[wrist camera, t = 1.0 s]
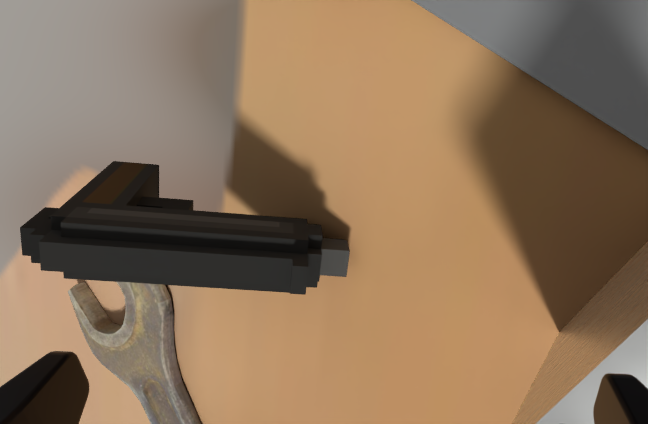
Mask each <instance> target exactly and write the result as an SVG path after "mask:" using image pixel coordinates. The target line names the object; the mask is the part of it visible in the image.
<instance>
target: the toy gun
mask: <svg viewBox="0 0 648 424" xmlns="http://www.w3.org/2000/svg"><path fill="white" fill-rule="evenodd" d="M20 232H21V243H22V255H27V256H31V262H32V263H41V270H44V271H60V272H64V278H68V279H84V280H100V281H115V282H131V283H147V284H163V285H178V286H194V287H210V288H226V289H242V290H257V291H273V292H289V293H290V294H305V293H306V287H316V288H317V282H318V281H319V277H320V275H327V276H342V277H346V275H347V268H348V260H349V252H350V250H349V246H348V243H347V241H346V240H342V239H328V238H322V237H323V235H322V228H321V225H313V224H307V219H299V218H285V217H272V216H259V215H246V214H232V213H219V212H206V211H193V200H181V199H168V198H159V165H153V164H141V163H128V162H116V161H114V162H112V163H111V164H110V165H109V166H108V167H106V169H104V170H103V171H102V172H101V173H99V174H98V175H97V176H96V177H95V178H94V179H92V180H91V181H90V182H89V183H88V184H87V185H86V186H84V187H83V188H82V189H81V190H80V191H79V192H77V193H76V194H75V195H74V196H73V197H72V198H71V199H69V200H68V201H67V202H66V203H65V204H64V205H62V206H61V207H60V208H46V207H45V208H44V209H42V210H41V211H40V212H39V213H38V214H36V215H35V216H34V217H33V218H31V219H30V220H29V221H28V222H27V223H25V224H24V225H23V226H22V227H20Z"/></svg>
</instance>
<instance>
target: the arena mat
mask: <svg viewBox="0 0 648 424" xmlns="http://www.w3.org/2000/svg"><path fill="white" fill-rule="evenodd" d="M412 1H414V2H415V3H417V4H418V5H420V6H422V7H423V8H425V9H426V10H428V11H429V12H431V13H433V14H434V15H436V16H437V17H439V18H440V19H442V20H444V21H445V22H447V23H448V24H450V25H451V26H453V27H455V28H456V29H458V30H459V31H461V32H463V33H464V34H466V35H467V36H469V37H470V38H472V39H474V40H475V41H477V42H478V43H480V44H481V45H483V46H485V47H486V48H488V49H489V50H491V51H492V52H494V53H496V54H497V55H499V56H500V57H502V58H504V59H505V60H507V61H508V62H510V63H511V64H513V65H515V66H516V67H518V68H519V69H521V70H522V71H524V72H526V73H527V74H529V75H530V76H532V77H533V78H535V79H537V80H538V81H540V82H541V83H543V84H545V85H546V86H548V87H549V88H551V89H552V90H554V91H556V92H557V93H559V94H560V95H562V96H563V97H565V98H567V99H568V100H570V101H571V102H573V103H574V104H576V105H578V106H579V107H581V108H582V109H584V110H586V111H587V112H589V113H590V114H592V115H593V116H595V117H597V118H598V119H600V120H601V121H603V122H604V123H606V124H608V125H609V126H611V127H612V128H614V129H615V130H617V131H619V132H620V133H622V134H623V135H625V136H627V137H628V138H630V139H631V140H633V141H634V142H636V143H638V144H639V145H641V146H642V147H644V148H645V149H647V150H648V0H412Z"/></svg>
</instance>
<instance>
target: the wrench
mask: <svg viewBox="0 0 648 424" xmlns="http://www.w3.org/2000/svg"><path fill="white" fill-rule="evenodd" d="M117 283H118V285H119V286H120V288H121V290H122V292H123V294H124V296H125V304H126V309H125V317H124V322H123V325H118V324H115V323H113V322H112V321H111V320H110V319H109V318H108V316H107V315H106V313H105V311H104V310H103V308H102V307H101V305H100V304H99V302H98V301H97V299H96V298H95V296H94V294H93V293H92V291H91V290H90V289H89V287H88V286H87V284H86V283H85V282H82V283H79V284H77V285H75V286H73V287H72V288H71V289H70V290H69V291H68V293H69V296H70V299H71V302H72V305H73V307H74V310H75V313H76V316H77V319H78V321H79V324H80V327H81V330H82V332H83V334H84V336H85V339H86V341H87V343H88V345H89V347H90V349H91V351H92V352H93V354H94V355H95V356H96V358H97V359H98V360H99V361H100V362H101V363H102V364H103V365H104V366H105V367H106V368H107V369H108V370H110V371H111V372H112V373H113V374H114V375H116V376H117V377H118V378H119V379H120V380H122V381H123V382H124V383H125V384H126V385H127V386H129V387H130V389H131V390H132V391H133V393H134V394H135V395H136V397H137V398H138V399H139V400H140V402H141V404H142V406H143V408H144V410H145V412H146V414H147V416H148V419H149V421H150V423H151V424H201V422H200V420H199V418H198V415H197V413H196V410H195V408H194V406H193V404H192V401H191V399H190V397H189V395H188V392H187V390H186V388H185V386H184V383H183V381H182V378H181V374H180V370H179V367H178V363H177V358H176V353H175V347H174V312H173V307H172V302H171V297H170V295H169V293H168V290H167V288H166V286H165V285H163V284H147V283H131V282H117Z"/></svg>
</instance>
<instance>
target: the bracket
mask: <svg viewBox="0 0 648 424" xmlns="http://www.w3.org/2000/svg"><path fill="white" fill-rule="evenodd" d="M608 373H614V374H630V375H633V376H634V377H636V378H637V379H638V380H639V381H640V382H641V383H642V384H643V385H645V386H646V387H647V388H648V241H647V242H646V243H645V244H644V245H643V246H642V247H641V248H640V249H639V250H638V252H637V253H636V254H635V255H634V256H633V257H632V258H631V259H630V260H629V261H628V262H627V263H626V264H625V265H624V266H623V267H622V268H621V269H620V270H619V271H618V272H617V273H616V274H615V275H614V276H613V277H612V278H611V279H610V280H609V281H608V282H607V283H606V285H605V286H604V287H603V288H602V289H601V290H600V291H599V292H598V293H597V294H596V295H595V296H594V297H593V298H592V299H591V300H590V301H589V302H588V303H587V304H586V305H585V306H584V307H583V308H582V309H581V310H580V311H579V312H578V313H577V314H576V315H575V317H574V318H573V319H572V320H571V321H570V322H569V323H568V324H567V325H566V326H565V327H564V328H563V329H562V330H561V331H560V332H559V334H558V336H557V337H556V339H555V341H554V343H553V345H552V347H551V349H550V351H549V353H548V355H547V357H546V359H545V361H544V363H543V365H542V366H541V368H540V370H539V372H538V374H537V376H536V378H535V380H534V382H533V384H532V386H531V388H530V390H529V392H528V393H527V395H526V397H525V399H524V401H523V403H522V405H521V407H520V409H519V411H518V413H517V415H516V417H515V419H514V421H513V422H512V424H594V417H593V409H594V404H595V400H596V397H597V393H598V390H599V387H600V383H601V380H602V378H603V376H604V375H605V374H608Z"/></svg>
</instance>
